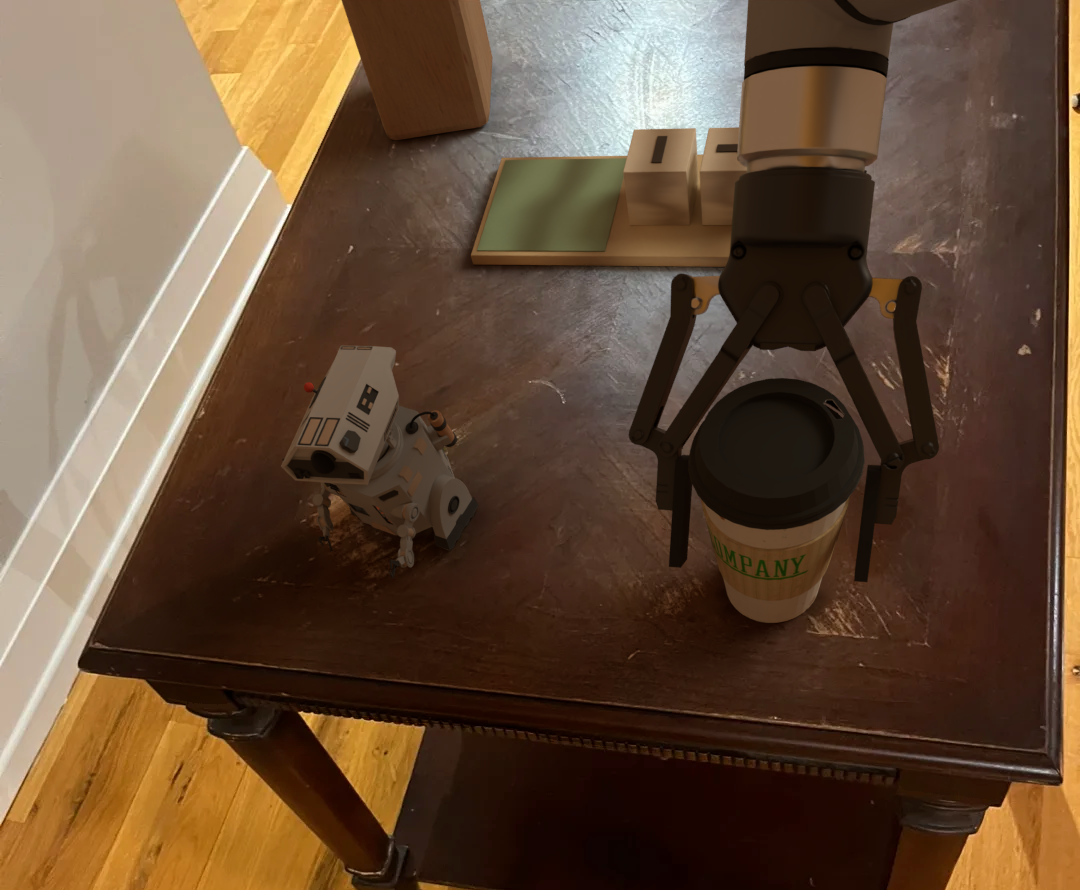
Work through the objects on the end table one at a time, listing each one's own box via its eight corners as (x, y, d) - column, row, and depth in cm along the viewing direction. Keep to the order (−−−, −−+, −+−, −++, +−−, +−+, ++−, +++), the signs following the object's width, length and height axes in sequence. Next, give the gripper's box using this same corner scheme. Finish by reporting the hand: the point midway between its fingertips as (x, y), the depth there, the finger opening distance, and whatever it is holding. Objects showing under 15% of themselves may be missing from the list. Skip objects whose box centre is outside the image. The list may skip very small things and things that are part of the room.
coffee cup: (674, 561, 76) (656, 414, 63) (800, 502, 76) (810, 343, 63) (741, 670, 71) (738, 537, 58) (875, 607, 72) (903, 459, 58)
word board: (777, 163, 91) (778, 94, 86) (759, 267, 87) (759, 201, 81) (503, 167, 97) (489, 103, 92) (472, 264, 92) (455, 203, 87)
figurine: (313, 576, 81) (226, 444, 68) (392, 460, 84) (324, 312, 71) (414, 617, 78) (344, 486, 64) (492, 494, 81) (440, 346, 68)
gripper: (1020, 177, 60) (959, 572, 68) (614, 181, 66) (599, 545, 73) (1040, 158, 53) (970, 599, 61) (585, 164, 59) (572, 567, 67)
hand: (767, 570), depth 67 cm, fingers open, 10 cm apart
